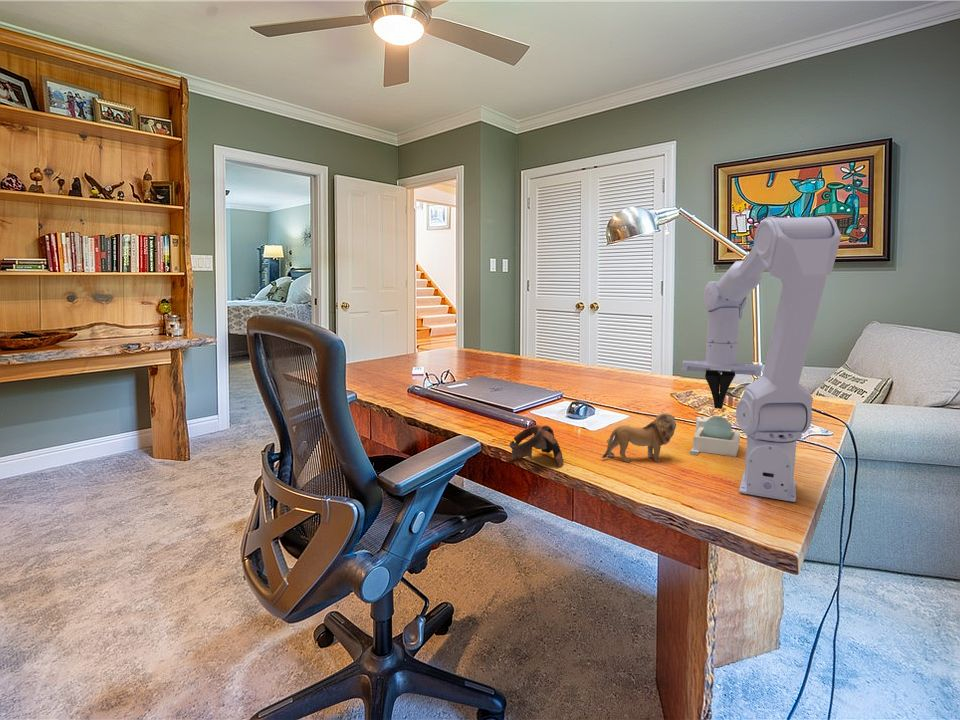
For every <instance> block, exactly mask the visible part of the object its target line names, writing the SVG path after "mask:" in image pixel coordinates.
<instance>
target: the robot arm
mask: <svg viewBox="0 0 960 720" xmlns="http://www.w3.org/2000/svg"><path fill="white" fill-rule="evenodd" d="M841 239H842V234H841V232H840V229H839V227H838V224H837V222H836V221H835V219H834V218H833V217H832V216H829V215H822V216H810V217H809V216H808V217H807V216H806V217H774V216H773V217H772V216H767V217H765V218H763V220H761V222H760V223H759V224H758V226H757V227H756V229H755V233H754V238H753V241H754V242H753V243H754V244H753V247H752V248H751V250H750V251H749V253H748V254H747V255H746V257H745V258H744V260H735V261H734V263H733V264H732V265H731V266H730V267H729V268H728V270H726V272H725V273H724V274H723V275H722V276H721V277H720V278H719V279H718V280H717V281H716V280H715V281H714V280H713V281H712V280H711V281H708V282H707V283H706V285H705V288H704V292H703V305H704V308H705V309H706V311H707V327H706V329H707V331H706V347H705V349H706V350H705V360H683V361H682V362H681V363H682V365H681V366H682V367H681V371H682V372H689V371H690V372H703V373H705V375H704V378H705V380H706V383H707V385H708V387H709V389H710V392H711V396H712V400H713V406H714V407H713V408H714V409H717V410H718V409H719V410H722V409H723V407H724V401H725V398H726V395H727V392H728V390H729V387H730V386H731V385H732V381H733V380H734V378H735V377H736V375H743V376H744V375H746V376H754V377H759V378H757V379H755V380H754V381H752V382H750V383H749V384H747V385H746V386H745V387H744V391H743V393H742V396H741V398H740V399H739V401H738V402H737V405H736V408H735V415H736V416H735V417H736V422H737V425H738V427H739V428H740V430H741V431H742V433H744V434H746V448H745V450H746V451H745V463H744V472H743V473H742V476H741V480H740V481H741V482H740V485H739V489H738V490H739V493H740V494H745V495H751V496H756V497H757V496H758V497H763V498H770V499H773V500H774V499H775V500H780V501H786V502H791V503H792V502H793V503H795V502H797V486H796V485H797V483H796V480H795V466H796V455H797V454H796V453H797V440H802V435H803V434H805V433H806V432H807V431H808V430H809V429H810V427H811V424H812V420H813V412H812V410H813V409H812V405H813V401H814V398H813V396H812V394H811V393H810V391H809V390H808V389H807V388H806V387H804V386H803V385H802V384H800V380H801V375H802V372H803V368H804V365H805V362H806V357H807V355H808V354H807V353H808V349H809V346H810V342H811V339H812V334H813V331H814V327H815V322H816V319H817V315H818V311H819V307H820V303H821V300H822V296H823V293H824V290H825V289H824V288H825V284H826V281H827V277H828V276H829V275H831V274H832V273H833V269H834V265H835V261H836V258H837V254H838V250H839V246H840V243H841ZM764 271H767V272H768V273H769V275H770V276H773V277H775V278H778V279H780V281H781V284H782V287H781V292H780V296H779V301H778V305H777V309H776V314H775V318H774V323H773V326H772V327H773V328H772V331H771V336H770V341H769V343H768V344H769V345H768V349H767V353H766V359H765V362H764V367H763V370H762V365H761V364H750V363H741V362H738V361H737V360H738V348H739V347H738V346H739V326H740V320H741V319H743V312H744V309H745V306H746V304H747V298H748V297H747V296H748V295H749V294H750V293H751V292H752V291H753V290H755V289H756V288H757V286H758V285H759V284H760V283H761V281H762V273H763V272H764Z"/></svg>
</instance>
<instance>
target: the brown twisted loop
mask: <svg viewBox="0 0 960 720" xmlns="http://www.w3.org/2000/svg"><path fill="white" fill-rule="evenodd" d="M530 436H531V438H530V439H528V440H526V439H527V438H529V437H530ZM523 440H526V441H524V442H523ZM509 447H510V449H511V457H512V458H513V459H514V460H515V461H517V460H518V459H522V458H525V457H528V458H530V459H533V456H532V455H533V448H534V449H535V450H541V453H547V454H549V453H551V452H552V453H553V458H554V459H555V461H556V463H557V467H558V468H561V467H562V466H563V465H564V457H563V453H562V450H561V447H560V443H559V442H558V440H557V439H556V437H555V433H554V430H553V429H552V428H551V426H549V425H543V426H541V425H538V424H537V425H532V426H529V427H526V428H525V429H523V430H522V431H520V432H519V433H517V434H515V436H514V437H513V440H512V441H511V442H509Z"/></svg>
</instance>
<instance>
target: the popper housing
mask: <svg viewBox="0 0 960 720" xmlns="http://www.w3.org/2000/svg"><path fill="white" fill-rule="evenodd" d="M703 435H704V427H699V429H698V430H697V432H696V431H695V434H694V435H693V438H692V439H693V441H692V442H693V443H692V448H693V449H694V450H699V453H706V454H712V455H713V454H714V455H722V456H728V457H737V455H738V451H739V449H740V446H741V431H738V430H736V431H735V430H731V440H726V439H718V438H710V437H703Z"/></svg>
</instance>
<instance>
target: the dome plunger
mask: <svg viewBox="0 0 960 720" xmlns="http://www.w3.org/2000/svg"><path fill="white" fill-rule="evenodd" d="M732 427H733V425H732V423H731V422H729V421H728V420H727V419H726V418H725V417H724V416H723V417H722V416H721V415H720V416H718V415H716V416H715V415H714V416H712V417H711V418H710V419H708V420H707V421H705V422H704V435H703V437H710V438H718V439H726V440H731V431H732Z"/></svg>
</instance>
